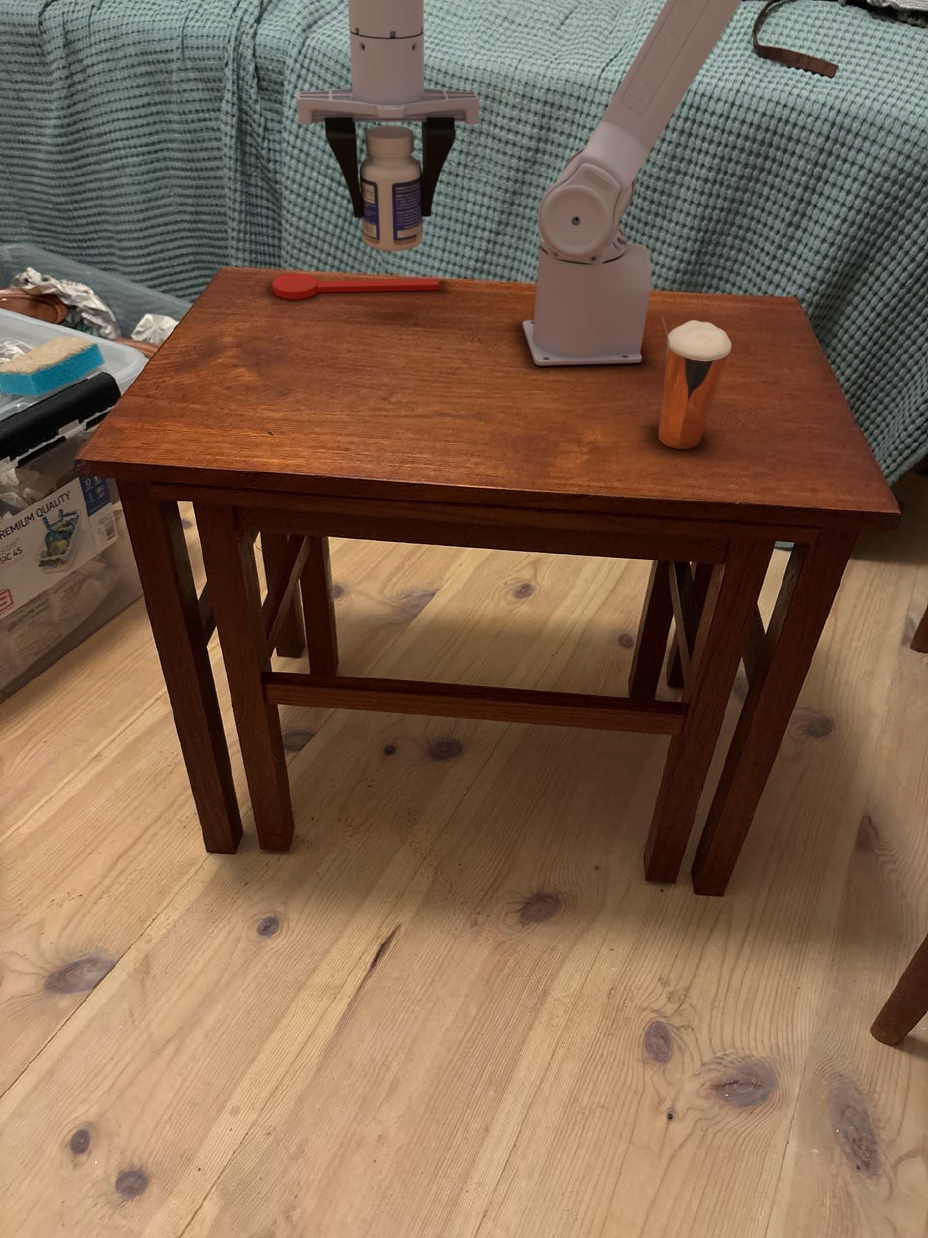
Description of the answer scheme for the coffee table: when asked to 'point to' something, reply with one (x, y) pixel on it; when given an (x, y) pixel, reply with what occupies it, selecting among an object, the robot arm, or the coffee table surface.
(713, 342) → the milkshake
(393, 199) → the pill bottle
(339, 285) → the red spoon
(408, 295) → the coffee table surface
